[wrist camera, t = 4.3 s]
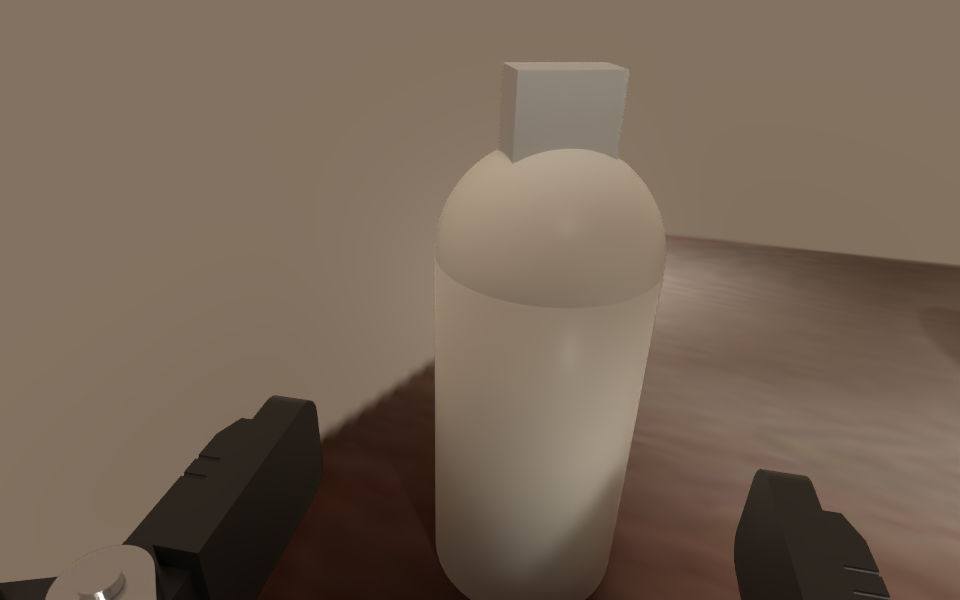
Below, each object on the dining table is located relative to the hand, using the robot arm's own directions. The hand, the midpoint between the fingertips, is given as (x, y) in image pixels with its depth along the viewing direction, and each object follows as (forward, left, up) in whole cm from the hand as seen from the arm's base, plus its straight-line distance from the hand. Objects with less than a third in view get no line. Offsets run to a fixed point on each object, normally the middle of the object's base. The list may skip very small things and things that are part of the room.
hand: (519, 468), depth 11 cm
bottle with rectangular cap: (-2, -4, -6) cm, 8 cm away
